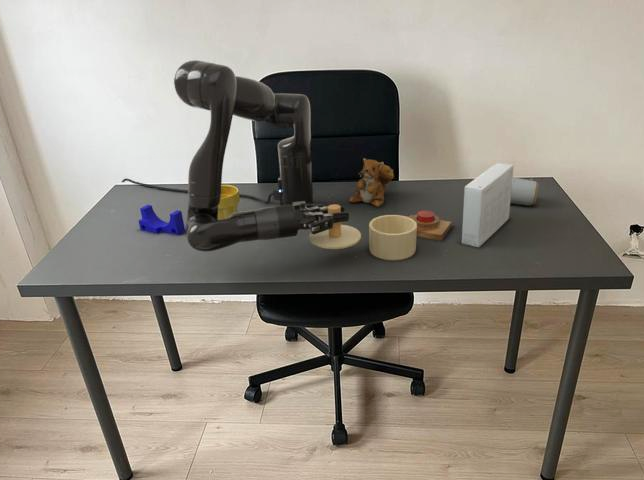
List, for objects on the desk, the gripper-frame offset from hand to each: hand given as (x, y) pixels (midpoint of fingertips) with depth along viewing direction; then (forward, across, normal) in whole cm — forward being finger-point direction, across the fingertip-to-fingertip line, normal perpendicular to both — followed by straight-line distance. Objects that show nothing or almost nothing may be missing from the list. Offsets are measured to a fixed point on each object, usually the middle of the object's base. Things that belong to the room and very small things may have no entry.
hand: (345, 213), depth 131 cm
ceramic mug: (+60, +17, +12) cm, 63 cm away
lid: (-3, 0, +6) cm, 7 cm away
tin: (+12, 0, +12) cm, 17 cm away
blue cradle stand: (-45, +31, +12) cm, 56 cm away
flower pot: (-28, +31, +12) cm, 43 cm away
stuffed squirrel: (+18, +34, +12) cm, 40 cm away
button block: (+25, +8, +12) cm, 28 cm away
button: (+25, +8, +9) cm, 27 cm away
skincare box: (+40, +2, +12) cm, 41 cm away
